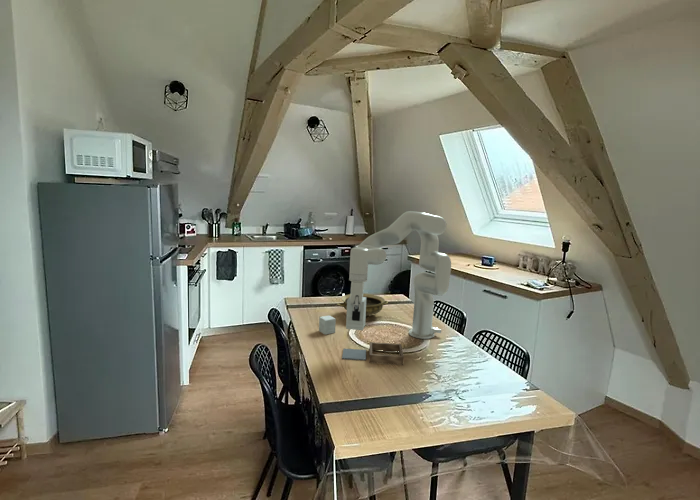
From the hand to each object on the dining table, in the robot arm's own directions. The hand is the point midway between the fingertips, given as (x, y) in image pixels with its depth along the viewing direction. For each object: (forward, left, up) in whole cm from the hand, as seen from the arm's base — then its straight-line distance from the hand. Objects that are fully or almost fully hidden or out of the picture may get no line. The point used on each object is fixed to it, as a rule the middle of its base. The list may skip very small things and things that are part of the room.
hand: (356, 316), depth 178 cm
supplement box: (0, 0, -5) cm, 5 cm away
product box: (+14, -26, -17) cm, 35 cm away
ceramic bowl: (-3, -54, -17) cm, 57 cm away
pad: (0, 0, -17) cm, 17 cm away
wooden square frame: (-14, 0, -17) cm, 22 cm away
